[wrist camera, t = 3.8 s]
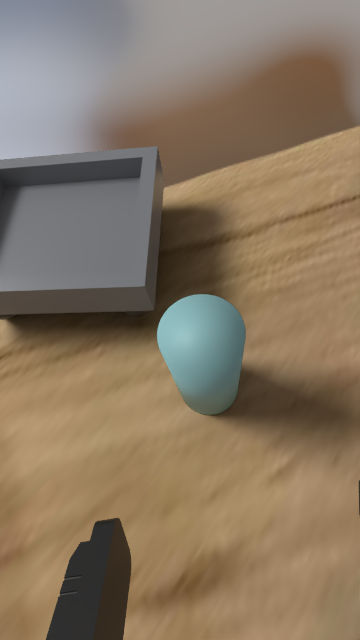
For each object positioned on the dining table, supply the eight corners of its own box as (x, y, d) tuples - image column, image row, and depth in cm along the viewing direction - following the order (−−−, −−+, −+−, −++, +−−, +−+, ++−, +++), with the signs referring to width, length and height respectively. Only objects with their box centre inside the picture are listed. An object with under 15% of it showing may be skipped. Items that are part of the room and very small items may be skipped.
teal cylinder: (236, 357, 26) (243, 292, 17) (239, 415, 24) (248, 375, 15) (181, 358, 27) (159, 295, 18) (179, 414, 25) (154, 375, 16)
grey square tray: (168, 203, 34) (157, 146, 29) (161, 327, 28) (144, 286, 22) (22, 212, 36) (-16, 161, 31) (-15, 330, 30) (-71, 294, 24)
